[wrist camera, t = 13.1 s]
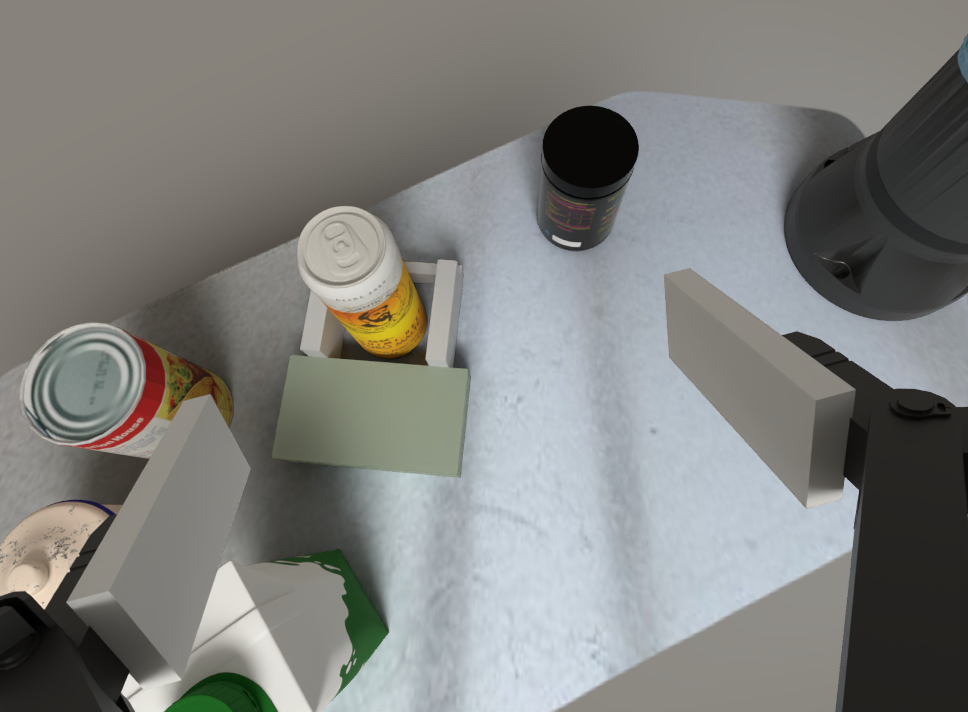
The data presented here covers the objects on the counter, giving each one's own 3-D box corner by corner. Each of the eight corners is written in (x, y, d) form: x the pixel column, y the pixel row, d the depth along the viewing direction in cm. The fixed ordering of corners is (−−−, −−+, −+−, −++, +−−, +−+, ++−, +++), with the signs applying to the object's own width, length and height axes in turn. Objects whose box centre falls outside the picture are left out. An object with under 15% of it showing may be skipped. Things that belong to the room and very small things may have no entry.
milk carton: (304, 712, 41) (120, 885, 22) (244, 599, 43) (28, 666, 24) (406, 635, 42) (318, 735, 23) (342, 529, 44) (212, 539, 25)
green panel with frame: (481, 276, 49) (477, 250, 45) (460, 477, 45) (454, 472, 40) (321, 265, 50) (301, 238, 45) (286, 461, 46) (259, 454, 41)
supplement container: (619, 192, 51) (645, 112, 41) (607, 261, 49) (631, 196, 39) (544, 180, 52) (551, 98, 42) (529, 247, 50) (533, 180, 40)
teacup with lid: (81, 521, 45) (-60, 523, 34) (194, 488, 46) (91, 479, 34) (96, 685, 42) (-55, 747, 31) (217, 649, 42) (111, 696, 31)
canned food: (207, 350, 49) (112, 299, 37) (250, 426, 47) (164, 397, 35) (124, 403, 48) (0, 366, 36) (164, 482, 46) (47, 471, 34)
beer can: (375, 373, 47) (315, 311, 33) (345, 313, 49) (274, 228, 35) (440, 339, 48) (409, 263, 34) (408, 280, 50) (365, 183, 35)
